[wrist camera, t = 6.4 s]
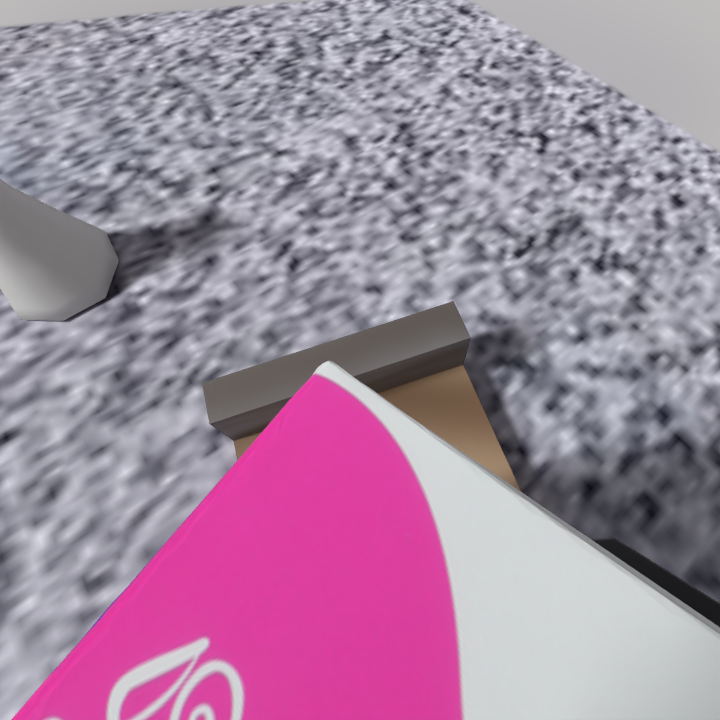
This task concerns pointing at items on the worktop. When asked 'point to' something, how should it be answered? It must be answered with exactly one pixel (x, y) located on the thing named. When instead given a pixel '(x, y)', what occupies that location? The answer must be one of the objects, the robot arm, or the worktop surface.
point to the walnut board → (448, 419)
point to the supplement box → (381, 595)
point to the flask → (50, 259)
